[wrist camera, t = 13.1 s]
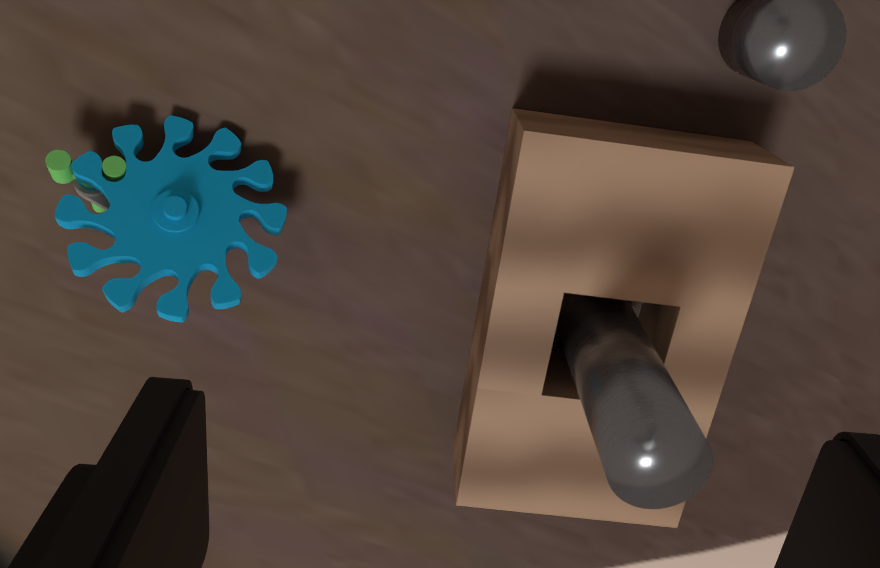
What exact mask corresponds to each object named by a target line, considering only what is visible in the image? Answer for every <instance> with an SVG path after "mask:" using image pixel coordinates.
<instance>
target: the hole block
mask: <svg viewBox="0 0 880 568" xmlns="http://www.w3.org/2000/svg"><path fill="white" fill-rule="evenodd" d="M793 170H794V167H793V166H792V165H790V164H788V163H787V162H785V161H783V160H782V159H780V158H778V157H777V156H775V155H773V154H772V153H770V152H768V151H767V150H765V149H763V148H762V147H760V146H758V145H757V144H755V143H753V142H752V141H747V140H740V139H732V138H725V137H718V136H711V135H703V134H696V133H689V132H681V131H674V130H667V129H660V128H652V127H645V126H638V125H630V124H623V123H616V122H609V121H601V120H594V119H587V118H579V117H572V116H565V115H558V114H550V113H543V112H536V111H529V110H521V109H514V108H512V113H511V119H510V125H509V131H508V136H507V142H506V148H505V154H504V159H503V165H502V171H501V177H500V182H499V188H498V194H497V200H496V205H495V211H494V217H493V223H492V229H491V234H490V240H489V246H488V252H487V257H486V263H485V269H484V275H483V280H482V286H481V292H480V298H479V303H478V309H477V315H476V321H475V326H474V332H473V338H472V344H471V350H470V355H469V361H468V367H467V373H466V378H465V384H464V390H463V396H462V401H461V407H460V413H459V419H458V424H457V430H456V436H455V442H454V447H453V454H454V475H455V495H456V505H458V506H468V507H478V508H488V509H497V510H507V511H517V512H527V513H537V514H546V515H556V516H566V517H576V518H586V519H595V520H605V521H615V522H625V523H635V524H644V525H654V526H664V527H674V528H677V526H678V523H679V520H680V517H681V514H682V511H683V508H684V505H685V502H686V501H684V502H682V503H680V504H677V505H675V506H672V507H668V508H663V509H644V508H638V507H635V506H632V505H630V504H628V503H626V502H624V501H622V500H621V499H620V498H619V497H617V495H616V494H615V493H614V492H613V491H612V489H611V488H610V486H609V484H608V481H607V478H606V475H605V472H604V469H603V466H602V463H601V460H600V457H599V454H598V451H597V448H596V445H595V442H594V439H593V436H592V433H591V430H590V427H589V424H588V421H587V418H586V415H585V412H584V409H583V407H582V404H581V401H580V398H579V395H578V392H577V389H576V386H575V383H574V380H573V377H572V374H571V371H570V368H569V365H568V362H567V359H566V356H565V353H564V351H555V350H551V349H552V345H553V340H554V336H555V331H556V326H557V322H558V317H559V313H560V308H561V304H562V299H563V295H564V293H572V294H580V295H588V296H596V297H604V298H613V299H621V300H629V301H637V302H643V304H642V308H641V312H640V316H639V319H638V320H639V321H640V323H641V325H642V327H643V328H644V330H645V332H646V334H647V335H648V337H649V339H650V341H651V342H652V344H653V346H654V348H655V350H656V351H657V353H658V355H659V357H660V358H661V360H662V362H663V364H664V365H665V367H666V369H667V371H668V372H669V374H670V376H671V378H672V380H673V381H674V383H675V385H676V387H677V388H678V390H679V392H680V394H681V395H682V397H683V399H684V401H685V402H686V404H687V406H688V408H689V410H690V411H691V413H692V415H693V417H694V418H695V420H696V422H697V424H698V425H699V427H700V429H701V431H702V433H703V434H704V436H705V438H706V437H707V434H708V431H709V428H710V425H711V422H712V419H713V416H714V413H715V410H716V407H717V403H718V400H719V397H720V394H721V391H722V388H723V385H724V382H725V379H726V376H727V373H728V370H729V367H730V364H731V361H732V357H733V354H734V351H735V348H736V345H737V342H738V339H739V336H740V333H741V330H742V327H743V324H744V321H745V318H746V315H747V311H748V308H749V305H750V302H751V299H752V296H753V293H754V290H755V287H756V284H757V281H758V278H759V275H760V272H761V269H762V265H763V262H764V259H765V256H766V253H767V250H768V247H769V244H770V241H771V238H772V235H773V232H774V229H775V226H776V223H777V219H778V216H779V213H780V210H781V207H782V204H783V201H784V198H785V195H786V192H787V189H788V186H789V183H790V180H791V177H792V173H793Z"/></svg>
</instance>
